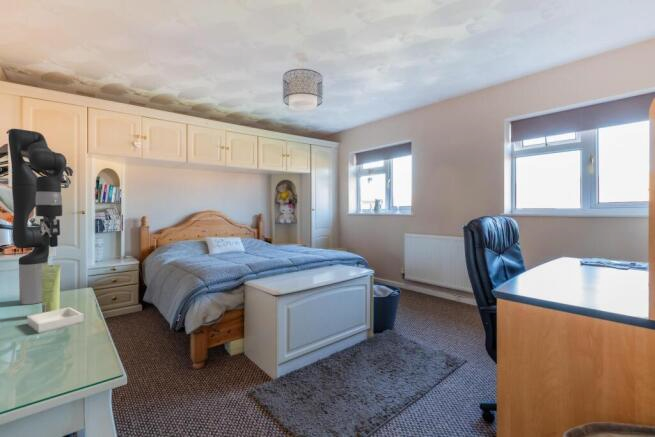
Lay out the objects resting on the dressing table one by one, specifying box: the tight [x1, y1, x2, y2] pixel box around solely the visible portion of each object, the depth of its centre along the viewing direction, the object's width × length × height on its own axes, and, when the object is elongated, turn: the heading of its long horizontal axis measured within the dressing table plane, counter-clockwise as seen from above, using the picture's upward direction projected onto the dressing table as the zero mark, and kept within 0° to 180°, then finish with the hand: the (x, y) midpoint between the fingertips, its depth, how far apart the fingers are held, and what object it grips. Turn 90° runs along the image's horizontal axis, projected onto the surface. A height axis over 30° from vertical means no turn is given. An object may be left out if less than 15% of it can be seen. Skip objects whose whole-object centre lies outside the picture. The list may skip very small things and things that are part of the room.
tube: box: [41, 264, 61, 313], centre depth 117 cm, size 6×5×20 cm
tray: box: [26, 306, 85, 334], centre depth 109 cm, size 14×12×3 cm
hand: (50, 245), depth 117 cm, fingers open, 8 cm apart
